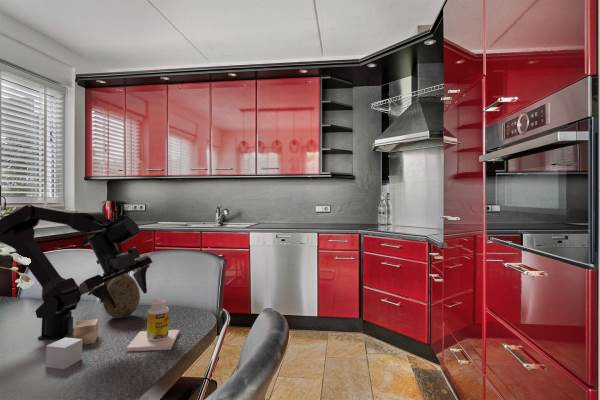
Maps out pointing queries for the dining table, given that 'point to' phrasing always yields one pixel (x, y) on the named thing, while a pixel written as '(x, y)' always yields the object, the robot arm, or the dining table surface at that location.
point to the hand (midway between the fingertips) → (131, 300)
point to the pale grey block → (63, 353)
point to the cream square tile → (152, 342)
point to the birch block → (86, 331)
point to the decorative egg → (123, 296)
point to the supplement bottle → (158, 321)
